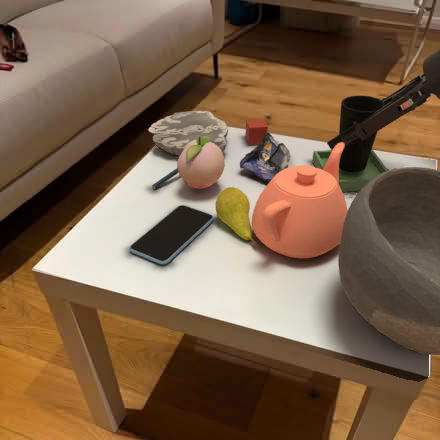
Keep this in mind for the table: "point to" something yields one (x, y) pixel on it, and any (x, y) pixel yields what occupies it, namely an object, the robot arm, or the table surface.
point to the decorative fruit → (201, 163)
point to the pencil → (165, 179)
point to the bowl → (396, 256)
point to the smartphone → (171, 234)
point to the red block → (255, 131)
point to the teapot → (302, 210)
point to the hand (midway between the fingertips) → (339, 139)
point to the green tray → (352, 179)
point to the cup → (351, 112)
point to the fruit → (235, 211)
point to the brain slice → (188, 130)
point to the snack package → (267, 158)
